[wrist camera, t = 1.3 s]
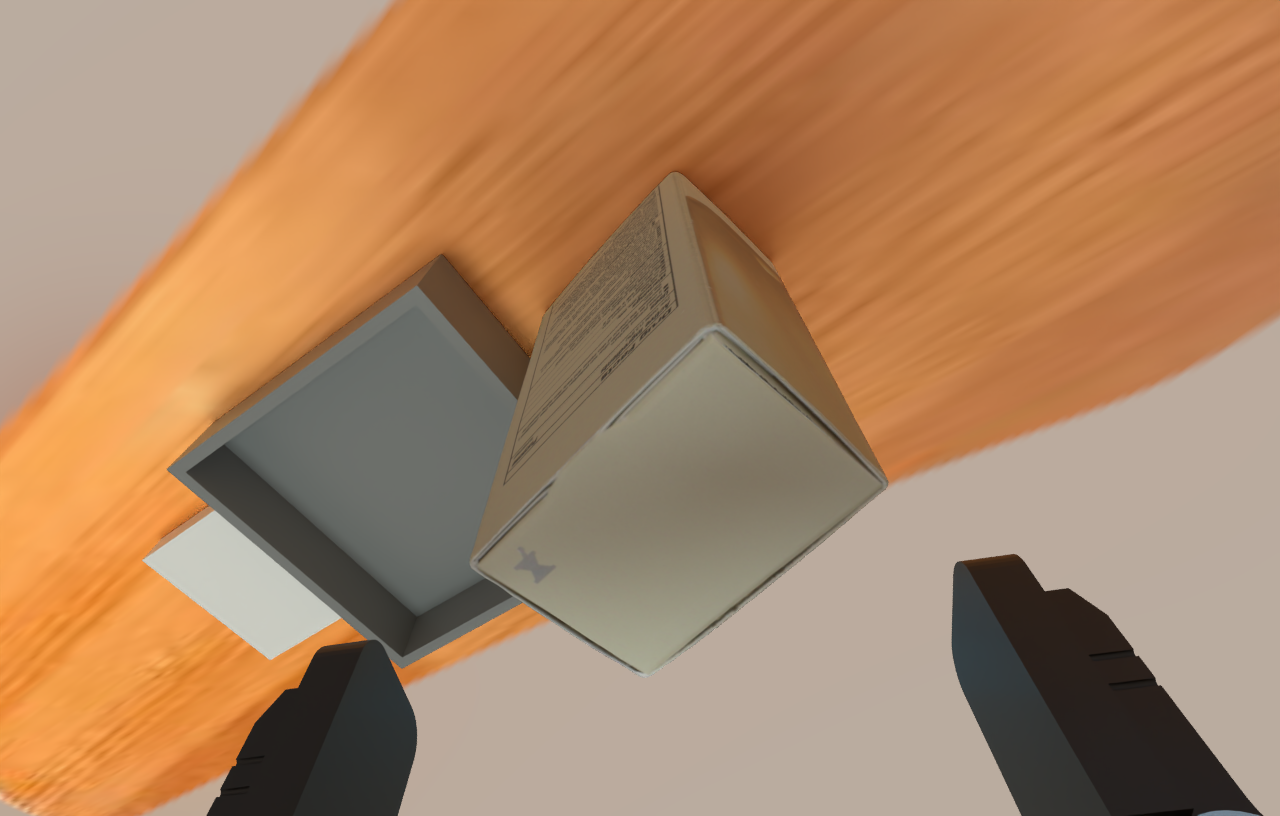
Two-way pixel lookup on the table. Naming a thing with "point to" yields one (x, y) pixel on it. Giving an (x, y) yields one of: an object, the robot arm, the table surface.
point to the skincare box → (669, 440)
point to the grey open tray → (357, 480)
